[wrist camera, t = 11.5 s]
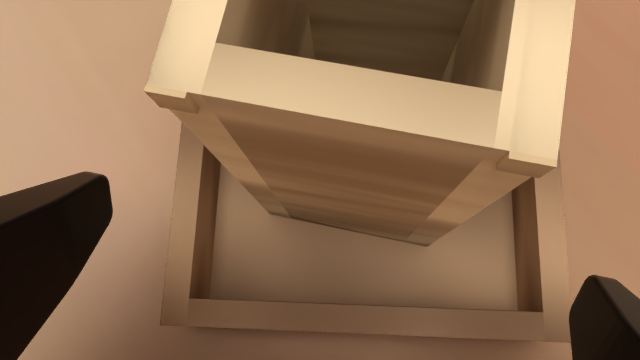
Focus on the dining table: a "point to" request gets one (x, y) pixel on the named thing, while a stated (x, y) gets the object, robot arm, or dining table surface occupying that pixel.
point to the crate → (363, 266)
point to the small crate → (371, 103)
